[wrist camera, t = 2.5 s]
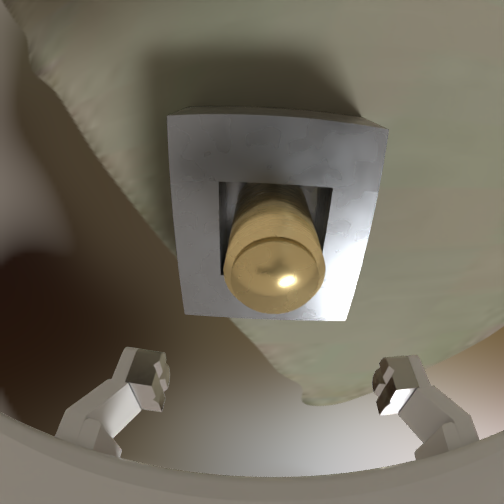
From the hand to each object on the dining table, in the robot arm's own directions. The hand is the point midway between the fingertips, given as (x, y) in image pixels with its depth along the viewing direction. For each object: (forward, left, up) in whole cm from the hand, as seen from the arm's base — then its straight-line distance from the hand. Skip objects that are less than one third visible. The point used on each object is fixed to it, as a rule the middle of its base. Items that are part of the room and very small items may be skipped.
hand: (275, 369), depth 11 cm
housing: (0, 0, -14) cm, 14 cm away
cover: (0, 0, -13) cm, 13 cm away
